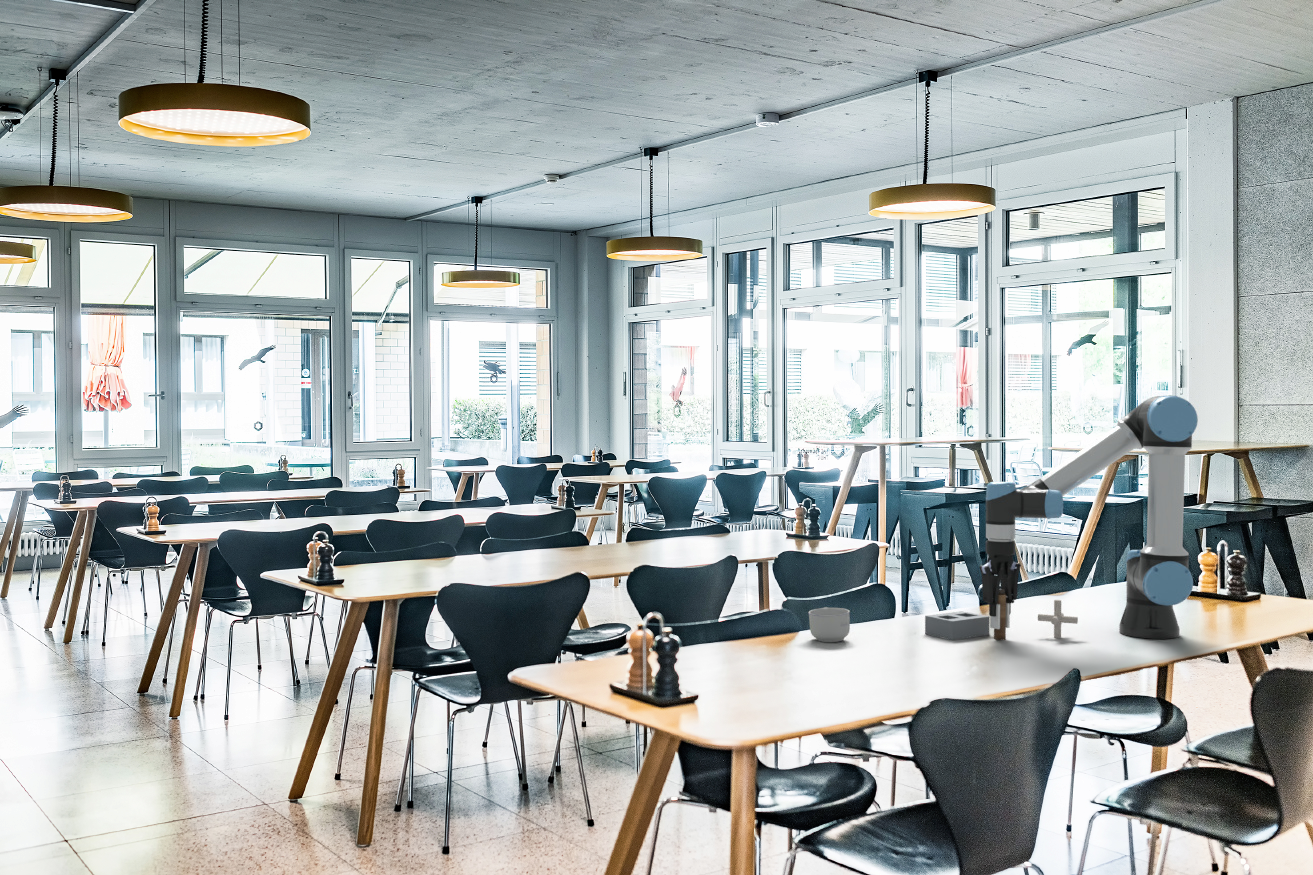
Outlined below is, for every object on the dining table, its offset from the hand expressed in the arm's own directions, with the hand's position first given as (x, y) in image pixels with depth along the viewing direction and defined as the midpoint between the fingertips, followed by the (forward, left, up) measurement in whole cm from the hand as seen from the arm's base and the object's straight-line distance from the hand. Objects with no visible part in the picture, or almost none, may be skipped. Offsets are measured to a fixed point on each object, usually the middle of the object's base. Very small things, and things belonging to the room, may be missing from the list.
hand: (999, 627), depth 312 cm
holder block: (+10, +5, -3) cm, 12 cm away
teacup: (+23, +39, -3) cm, 46 cm away
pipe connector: (-7, -15, -3) cm, 17 cm away
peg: (0, 0, -3) cm, 3 cm away
